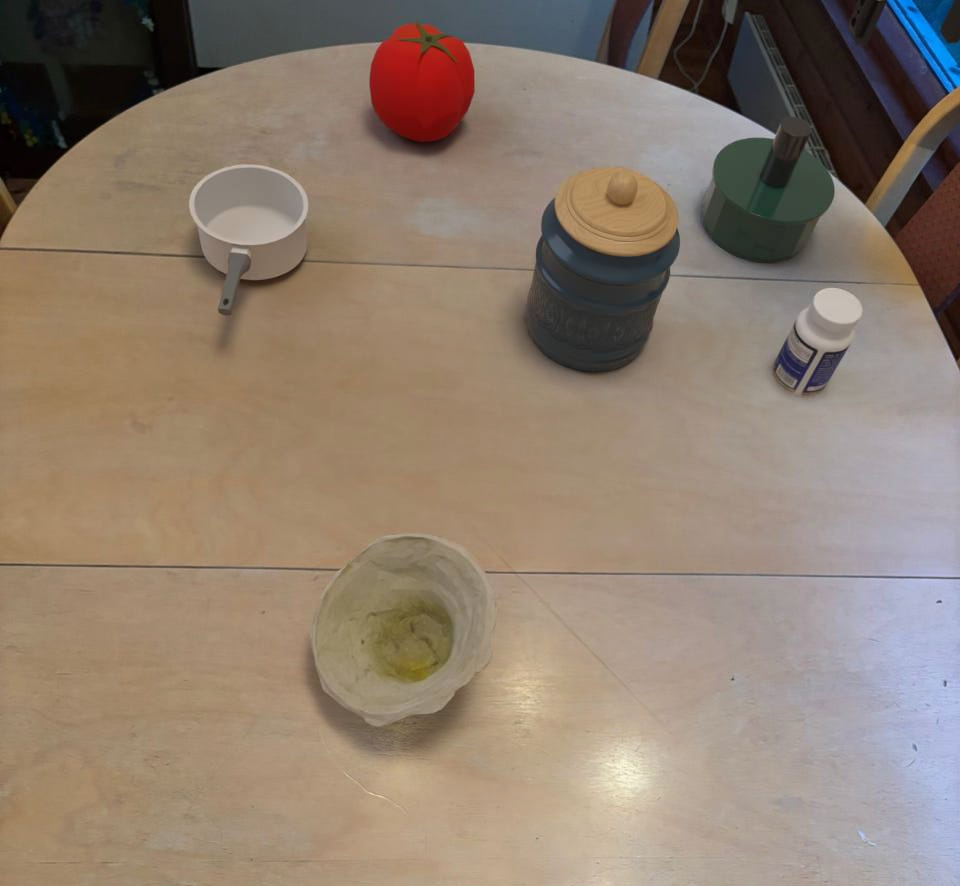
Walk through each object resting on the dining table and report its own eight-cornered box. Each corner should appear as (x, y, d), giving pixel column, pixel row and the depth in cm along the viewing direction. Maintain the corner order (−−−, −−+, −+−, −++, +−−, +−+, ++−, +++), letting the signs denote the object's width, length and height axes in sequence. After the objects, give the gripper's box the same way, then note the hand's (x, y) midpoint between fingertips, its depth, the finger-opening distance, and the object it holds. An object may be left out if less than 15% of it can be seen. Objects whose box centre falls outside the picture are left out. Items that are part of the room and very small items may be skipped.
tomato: (392, 167, 105) (393, 77, 96) (354, 103, 110) (352, 11, 101) (488, 146, 109) (499, 57, 99) (448, 85, 113) (455, -5, 104)
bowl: (288, 615, 79) (277, 551, 70) (442, 564, 83) (450, 497, 74) (352, 773, 74) (349, 726, 65) (514, 711, 77) (532, 658, 68)
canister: (623, 274, 101) (668, 120, 86) (665, 365, 96) (722, 218, 80) (508, 289, 99) (533, 132, 83) (545, 383, 93) (579, 235, 78)
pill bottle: (824, 364, 98) (868, 289, 89) (823, 405, 96) (869, 333, 87) (770, 353, 98) (809, 277, 89) (768, 394, 96) (808, 320, 87)
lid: (764, 131, 107) (788, 69, 101) (854, 198, 103) (886, 138, 97) (685, 175, 102) (705, 113, 96) (777, 247, 99) (804, 188, 92)
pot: (750, 172, 111) (767, 130, 106) (830, 233, 108) (851, 192, 103) (679, 213, 107) (693, 171, 102) (760, 278, 103) (778, 238, 98)
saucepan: (171, 346, 91) (160, 302, 86) (209, 205, 100) (200, 157, 95) (292, 359, 92) (287, 316, 87) (318, 218, 101) (315, 171, 96)
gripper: (948, -171, 63) (842, 68, 77) (1131, -167, 66) (995, 64, 80) (905, -227, 66) (811, 13, 81) (1081, -221, 69) (959, 11, 83)
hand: (903, 38), depth 80 cm, fingers open, 8 cm apart
